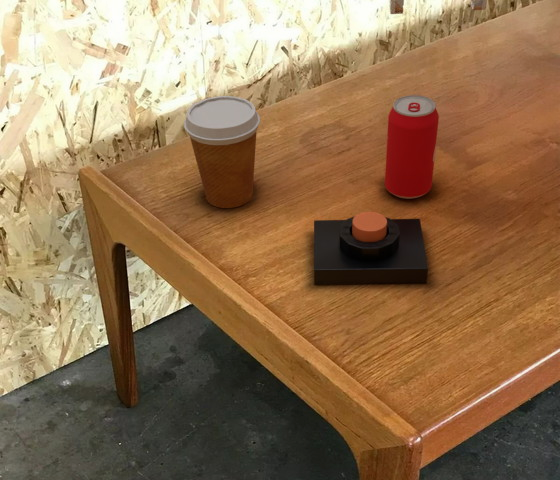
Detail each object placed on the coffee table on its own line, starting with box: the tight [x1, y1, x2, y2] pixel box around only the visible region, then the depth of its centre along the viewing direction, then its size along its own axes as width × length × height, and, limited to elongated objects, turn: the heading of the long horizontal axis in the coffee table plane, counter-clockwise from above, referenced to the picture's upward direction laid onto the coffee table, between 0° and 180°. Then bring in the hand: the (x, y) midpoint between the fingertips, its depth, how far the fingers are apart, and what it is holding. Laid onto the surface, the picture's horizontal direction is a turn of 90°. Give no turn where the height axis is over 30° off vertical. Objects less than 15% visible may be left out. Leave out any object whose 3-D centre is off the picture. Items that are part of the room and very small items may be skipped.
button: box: [352, 211, 387, 242], centre depth 92 cm, size 4×4×2 cm
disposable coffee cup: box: [183, 95, 261, 209], centre depth 102 cm, size 10×10×12 cm
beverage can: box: [384, 94, 440, 200], centre depth 102 cm, size 6×6×12 cm
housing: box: [313, 215, 429, 286], centre depth 94 cm, size 13×10×4 cm
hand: (437, 10), depth 92 cm, fingers open, 8 cm apart
